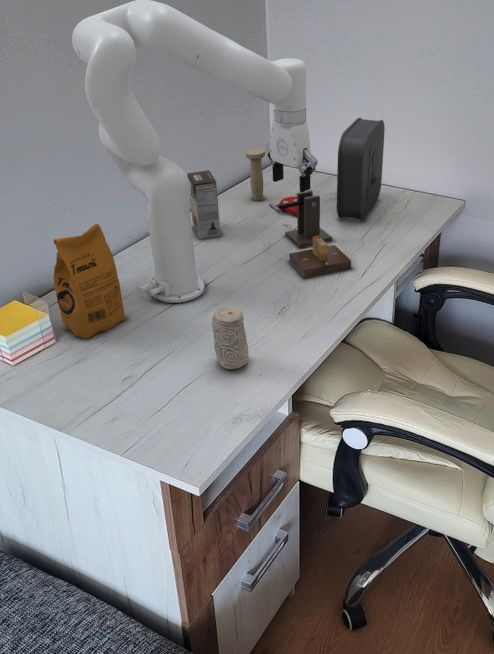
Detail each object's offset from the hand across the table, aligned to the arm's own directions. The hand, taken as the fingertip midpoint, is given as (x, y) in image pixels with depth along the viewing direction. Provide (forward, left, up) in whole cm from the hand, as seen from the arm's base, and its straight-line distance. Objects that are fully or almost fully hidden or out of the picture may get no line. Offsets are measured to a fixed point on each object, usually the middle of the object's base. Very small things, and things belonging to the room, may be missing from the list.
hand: (291, 185), depth 167 cm
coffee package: (-56, +4, -19) cm, 59 cm away
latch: (+5, +5, -9) cm, 12 cm away
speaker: (+35, +8, -19) cm, 41 cm away
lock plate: (0, -10, -19) cm, 21 cm away
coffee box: (-9, +27, -19) cm, 34 cm away
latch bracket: (+9, +4, -19) cm, 22 cm away
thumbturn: (0, -10, -16) cm, 19 cm away
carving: (-43, -29, -19) cm, 55 cm away
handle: (+17, +36, -19) cm, 44 cm away
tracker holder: (+21, +21, -19) cm, 35 cm away
